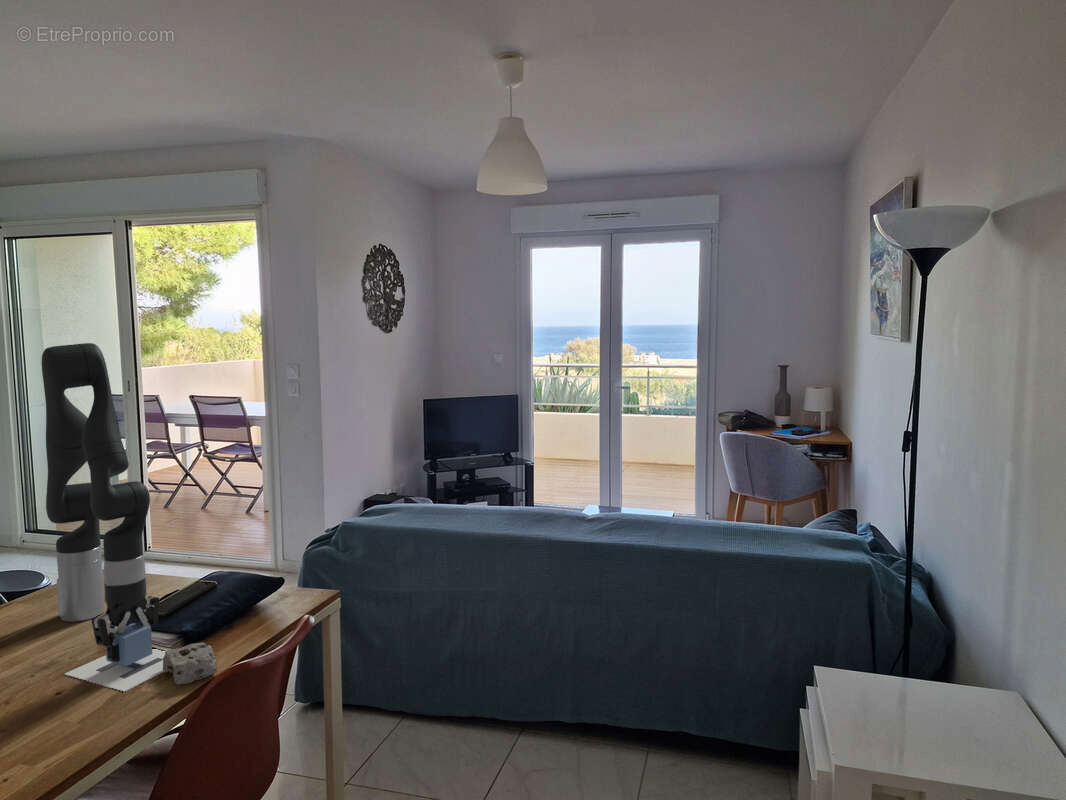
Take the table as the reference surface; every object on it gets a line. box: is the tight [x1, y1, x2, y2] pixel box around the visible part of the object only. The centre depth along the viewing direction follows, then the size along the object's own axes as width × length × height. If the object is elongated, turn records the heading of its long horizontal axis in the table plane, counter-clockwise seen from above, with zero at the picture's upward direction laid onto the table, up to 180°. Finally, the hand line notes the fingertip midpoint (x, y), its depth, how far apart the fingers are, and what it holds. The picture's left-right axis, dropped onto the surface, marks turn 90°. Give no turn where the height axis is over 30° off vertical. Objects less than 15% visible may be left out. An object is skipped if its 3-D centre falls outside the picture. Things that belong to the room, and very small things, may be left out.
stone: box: [163, 641, 218, 686], centre depth 143 cm, size 13×6×10 cm
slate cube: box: [105, 623, 153, 666], centre depth 146 cm, size 6×6×6 cm
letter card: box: [63, 649, 166, 693], centre depth 146 cm, size 18×16×1 cm
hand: (129, 654), depth 146 cm, fingers closed on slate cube, 6 cm apart
